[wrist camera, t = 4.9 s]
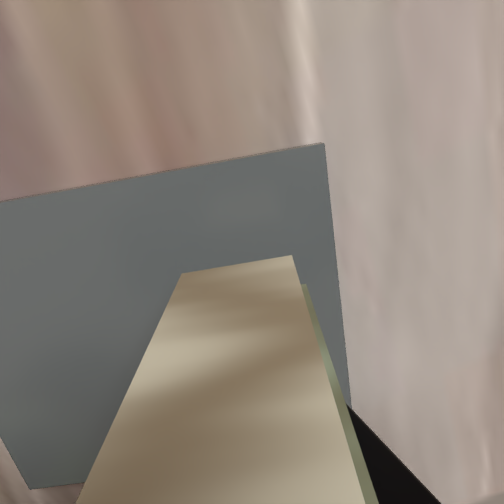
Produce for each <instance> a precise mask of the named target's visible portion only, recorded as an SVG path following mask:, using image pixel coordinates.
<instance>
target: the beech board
mask: <svg viewBox="0 0 504 504" xmlns="http://www.w3.org/2000/svg"><path fill="white" fill-rule="evenodd" d="M75 504H379V503H378V500H377V497H376V494H375V491H374V488H373V485H372V481H371V478H370V475H369V472H368V469H367V466H366V463H365V460H364V457H363V454H362V451H361V448H360V445H359V442H358V439H357V436H356V433H355V430H354V427H353V424H352V421H351V418H350V415H349V412H348V409H347V406H346V403H345V400H344V397H343V394H342V391H341V388H340V385H339V382H338V379H337V376H336V373H335V370H334V367H333V364H332V361H331V358H330V355H329V352H328V349H327V346H326V343H325V340H324V336H323V333H322V330H321V327H320V324H319V321H318V318H317V315H316V312H315V309H314V306H313V303H312V300H311V297H310V294H309V291H308V288H307V285H306V284H300V281H299V278H298V274H297V271H296V267H295V264H294V261H293V257H292V255H289V256H283V257H277V258H271V259H265V260H259V261H254V262H248V263H242V264H236V265H230V266H224V267H218V268H212V269H206V270H200V271H194V272H188V273H182V274H181V276H180V278H179V280H178V282H177V285H176V287H175V289H174V291H173V293H172V295H171V298H170V300H169V302H168V304H167V306H166V308H165V311H164V313H163V315H162V317H161V319H160V321H159V324H158V326H157V328H156V330H155V332H154V334H153V337H152V339H151V341H150V343H149V345H148V347H147V350H146V352H145V354H144V356H143V358H142V360H141V363H140V365H139V367H138V369H137V371H136V373H135V376H134V378H133V380H132V382H131V384H130V386H129V389H128V391H127V393H126V395H125V397H124V399H123V402H122V404H121V406H120V408H119V410H118V412H117V415H116V417H115V419H114V421H113V423H112V425H111V428H110V430H109V432H108V434H107V436H106V438H105V441H104V443H103V445H102V447H101V449H100V451H99V454H98V456H97V458H96V460H95V462H94V464H93V467H92V469H91V471H90V473H89V475H88V477H87V480H86V482H85V484H84V486H83V488H82V490H81V493H80V495H79V497H78V499H77V501H76V503H75Z"/></svg>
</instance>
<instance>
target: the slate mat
mask: <svg viewBox="0 0 504 504" xmlns="http://www.w3.org/2000/svg"><path fill="white" fill-rule="evenodd" d="M289 255H292V257H293V261H294V264H295V267H296V271H297V274H298V278H299V281H300V284H306V285H307V288H308V291H309V294H310V297H311V300H312V303H313V306H314V309H315V312H316V315H317V318H318V321H319V324H320V327H321V330H322V333H323V336H324V340H325V343H326V346H327V349H328V352H329V355H330V358H331V361H332V364H333V367H334V370H335V373H336V376H337V379H338V382H339V385H340V388H341V391H342V394H343V397H344V400H345V403H346V404H347V405H348V406H349V407H350V408H351V409H352V406H351V396H350V386H349V377H348V367H347V357H346V348H345V338H344V328H343V319H342V309H341V299H340V290H339V280H338V270H337V261H336V251H335V241H334V232H333V222H332V212H331V203H330V193H329V184H328V174H327V164H326V155H325V145H324V143H322V142H320V143H315V144H309V145H304V146H298V147H293V148H288V149H282V150H277V151H271V152H266V153H260V154H255V155H249V156H244V157H239V158H233V159H228V160H222V161H217V162H211V163H206V164H201V165H195V166H190V167H184V168H179V169H173V170H168V171H163V172H157V173H152V174H146V175H141V176H135V177H130V178H125V179H119V180H114V181H108V182H103V183H97V184H92V185H86V186H81V187H76V188H70V189H65V190H59V191H54V192H48V193H43V194H38V195H32V196H27V197H21V198H16V199H10V200H5V201H0V437H1V439H2V441H3V443H4V444H5V446H6V448H7V450H8V452H9V453H10V455H11V457H12V459H13V461H14V462H15V464H16V466H17V468H18V470H19V471H20V473H21V475H22V477H23V479H24V480H25V482H26V484H27V486H28V488H29V489H30V490H31V489H38V488H46V487H53V486H61V485H68V484H76V483H83V482H86V480H87V477H88V475H89V473H90V471H91V469H92V467H93V464H94V462H95V460H96V458H97V456H98V454H99V451H100V449H101V447H102V445H103V443H104V441H105V438H106V436H107V434H108V432H109V430H110V428H111V425H112V423H113V421H114V419H115V417H116V415H117V412H118V410H119V408H120V406H121V404H122V402H123V399H124V397H125V395H126V393H127V391H128V389H129V386H130V384H131V382H132V380H133V378H134V376H135V373H136V371H137V369H138V367H139V365H140V363H141V360H142V358H143V356H144V354H145V352H146V350H147V347H148V345H149V343H150V341H151V339H152V337H153V334H154V332H155V330H156V328H157V326H158V324H159V321H160V319H161V317H162V315H163V313H164V311H165V308H166V306H167V304H168V302H169V300H170V298H171V295H172V293H173V291H174V289H175V287H176V285H177V282H178V280H179V278H180V276H181V274H182V273H188V272H194V271H200V270H206V269H212V268H218V267H224V266H230V265H236V264H242V263H248V262H254V261H259V260H265V259H271V258H277V257H283V256H289Z"/></svg>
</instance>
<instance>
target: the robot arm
mask: <svg viewBox="0 0 504 504" xmlns="http://www.w3.org/2000/svg"><path fill="white" fill-rule="evenodd" d="M346 406H347V409H348V412H349V415H350V418H351V421H352V424H353V427H354V430H355V433H356V436H357V439H358V442H359V445H360V448H361V451H362V454H363V457H364V460H365V463H366V466H367V469H368V472H369V475H370V478H371V481H372V485H373V488H374V491H375V494H376V497H377V500H378V503H379V504H441V503H440V502H439V501H438V500H437V499H436V498H435V496H434V495H433V494H432V493H431V492H430V491H429V490H428V489H427V488H426V487H425V486H424V485H423V484H422V483H421V482H420V481H419V480H418V479H417V477H416V476H415V475H414V474H413V473H412V472H411V471H410V470H409V469H408V468H407V467H406V466H405V465H404V464H403V463H402V462H401V461H400V460H399V459H398V457H397V456H396V455H395V454H394V453H393V452H392V451H391V450H390V449H389V448H388V447H387V446H386V445H385V444H384V443H383V442H382V441H381V440H380V438H379V437H378V436H377V435H376V434H375V433H374V432H373V431H372V430H371V429H370V428H369V427H368V426H367V425H366V424H365V423H364V422H363V421H362V419H361V418H360V417H359V416H358V415H357V414H356V413H355V412H354V411H353V410H352V409H351V408H350V407H349V406H348V405H347V404H346Z"/></svg>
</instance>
